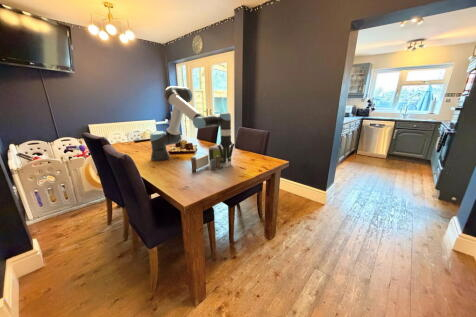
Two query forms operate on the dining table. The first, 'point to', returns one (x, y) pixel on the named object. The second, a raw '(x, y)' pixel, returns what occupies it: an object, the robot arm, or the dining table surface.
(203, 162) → the cream flat block
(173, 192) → the dining table surface
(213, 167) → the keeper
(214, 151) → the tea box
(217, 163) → the post
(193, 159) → the hinge post
